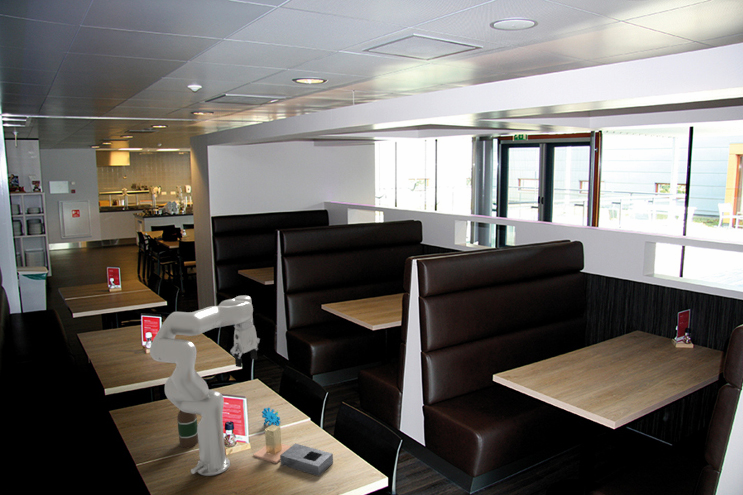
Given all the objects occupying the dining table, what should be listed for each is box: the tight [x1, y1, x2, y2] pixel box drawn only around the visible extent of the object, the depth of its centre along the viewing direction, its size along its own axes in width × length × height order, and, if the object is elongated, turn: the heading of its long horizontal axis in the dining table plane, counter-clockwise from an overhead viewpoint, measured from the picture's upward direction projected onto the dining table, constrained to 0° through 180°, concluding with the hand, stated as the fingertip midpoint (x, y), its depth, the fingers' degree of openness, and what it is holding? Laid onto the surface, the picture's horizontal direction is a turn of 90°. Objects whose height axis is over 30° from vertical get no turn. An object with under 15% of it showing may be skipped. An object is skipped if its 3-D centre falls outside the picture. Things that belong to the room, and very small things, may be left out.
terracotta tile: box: [252, 443, 293, 464], centre depth 220 cm, size 12×12×1 cm
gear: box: [261, 407, 281, 427], centre depth 245 cm, size 11×6×10 cm
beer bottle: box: [177, 409, 199, 448], centre depth 228 cm, size 8×8×24 cm
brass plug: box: [264, 424, 282, 455], centre depth 220 cm, size 4×4×10 cm
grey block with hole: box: [280, 443, 334, 477], centre depth 211 cm, size 10×18×4 cm, turn 61°
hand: (246, 362), depth 233 cm, fingers open, 9 cm apart
